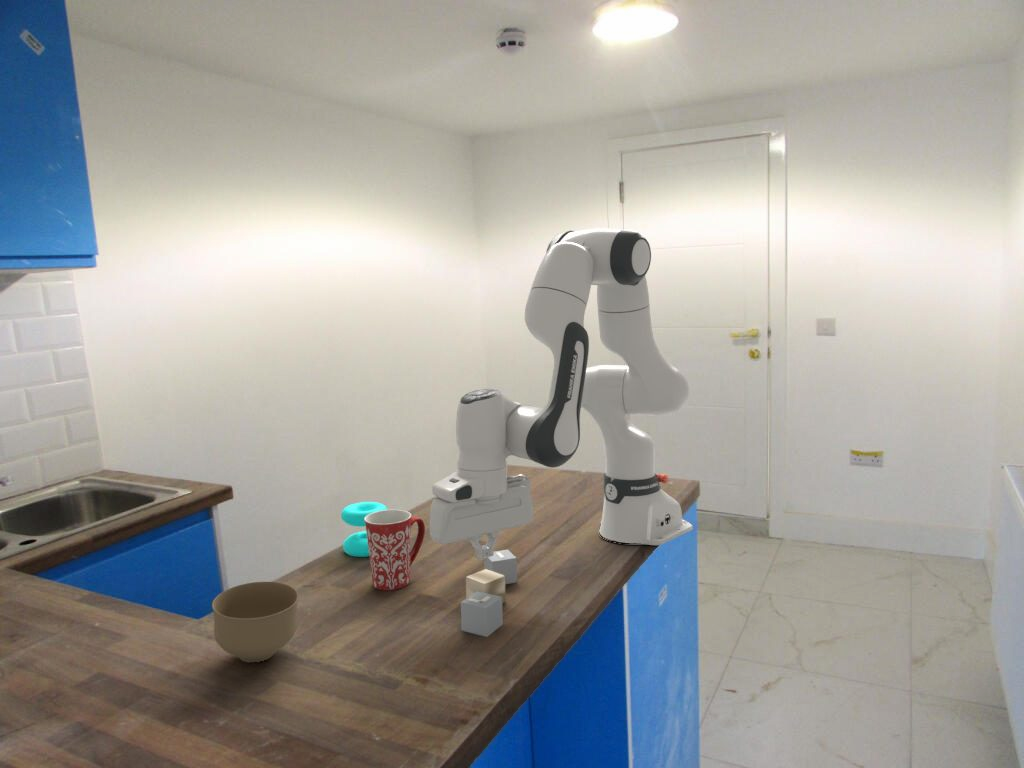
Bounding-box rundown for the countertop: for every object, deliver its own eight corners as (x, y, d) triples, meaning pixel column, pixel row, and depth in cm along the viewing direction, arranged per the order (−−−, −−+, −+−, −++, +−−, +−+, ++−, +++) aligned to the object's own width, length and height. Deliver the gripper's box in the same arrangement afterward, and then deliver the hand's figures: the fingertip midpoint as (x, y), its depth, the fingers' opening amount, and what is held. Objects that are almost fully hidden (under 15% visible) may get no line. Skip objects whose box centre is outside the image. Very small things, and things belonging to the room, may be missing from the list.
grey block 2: (508, 573, 145) (507, 549, 144) (517, 582, 140) (516, 557, 139) (484, 577, 143) (483, 552, 142) (492, 586, 138) (492, 561, 138)
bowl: (253, 686, 104) (248, 620, 103) (198, 664, 111) (193, 602, 110) (318, 649, 115) (315, 589, 114) (265, 631, 122) (261, 574, 120)
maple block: (486, 594, 135) (485, 568, 134) (505, 602, 131) (504, 575, 131) (466, 603, 131) (465, 576, 130) (485, 611, 128) (484, 584, 127)
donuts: (395, 502, 161) (371, 515, 152) (397, 545, 162) (373, 561, 153) (358, 498, 165) (331, 511, 155) (360, 541, 166) (333, 555, 157)
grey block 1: (477, 619, 125) (476, 590, 124) (502, 625, 122) (502, 596, 121) (461, 630, 120) (460, 601, 120) (487, 637, 118) (486, 607, 117)
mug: (382, 596, 134) (379, 526, 133) (359, 583, 141) (355, 516, 140) (438, 578, 143) (436, 512, 141) (413, 566, 149) (410, 502, 148)
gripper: (519, 469, 137) (520, 540, 138) (423, 487, 125) (426, 564, 126) (539, 475, 132) (540, 549, 133) (442, 494, 120) (444, 575, 121)
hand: (484, 556), depth 130 cm, fingers closed
